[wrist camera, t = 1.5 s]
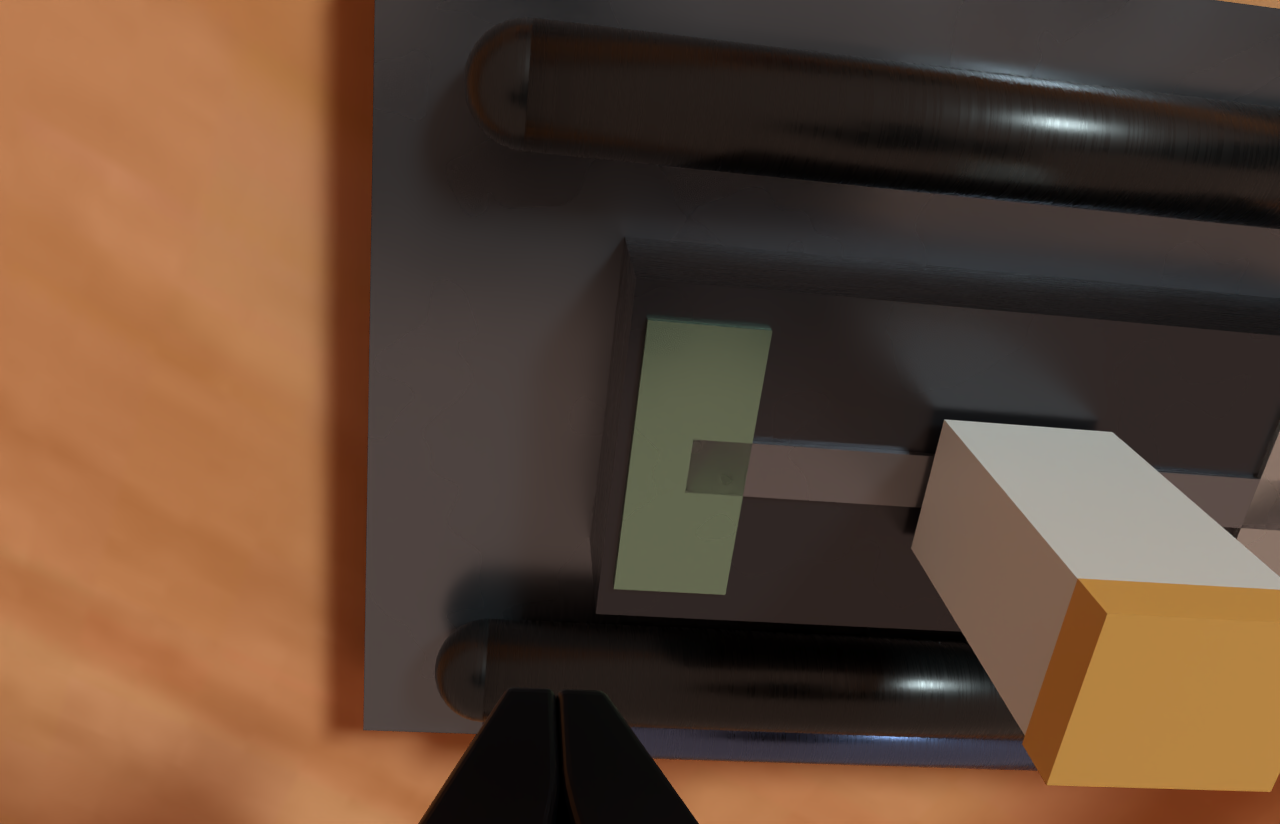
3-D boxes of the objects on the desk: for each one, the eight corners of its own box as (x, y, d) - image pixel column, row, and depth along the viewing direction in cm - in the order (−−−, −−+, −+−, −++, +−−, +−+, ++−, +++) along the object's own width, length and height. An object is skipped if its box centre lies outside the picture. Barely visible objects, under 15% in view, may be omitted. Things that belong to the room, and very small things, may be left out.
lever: (1117, 428, 14) (1347, 626, 10) (1073, 560, 15) (1271, 791, 11) (941, 415, 14) (1107, 613, 10) (907, 550, 15) (1046, 785, 11)
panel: (1565, 48, 16) (1819, 76, 13) (1268, 710, 22) (1397, 847, 18) (392, -107, 14) (347, -120, 11) (376, 674, 19) (342, 823, 16)
